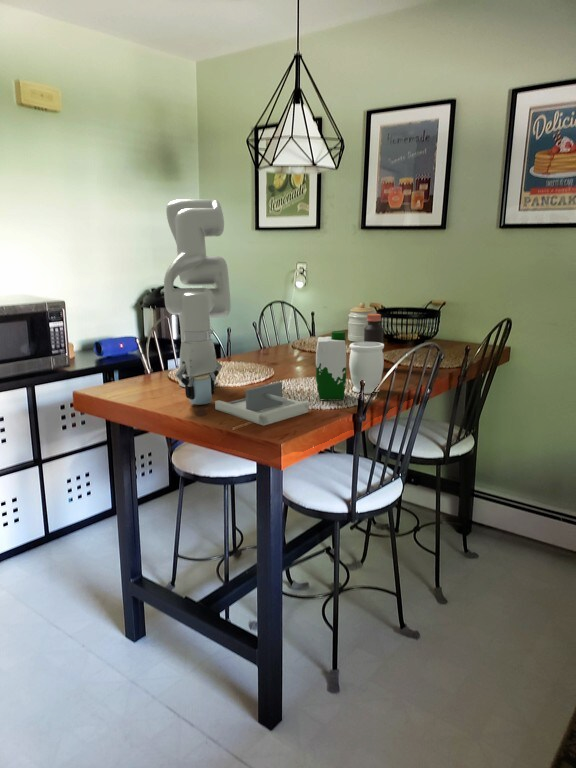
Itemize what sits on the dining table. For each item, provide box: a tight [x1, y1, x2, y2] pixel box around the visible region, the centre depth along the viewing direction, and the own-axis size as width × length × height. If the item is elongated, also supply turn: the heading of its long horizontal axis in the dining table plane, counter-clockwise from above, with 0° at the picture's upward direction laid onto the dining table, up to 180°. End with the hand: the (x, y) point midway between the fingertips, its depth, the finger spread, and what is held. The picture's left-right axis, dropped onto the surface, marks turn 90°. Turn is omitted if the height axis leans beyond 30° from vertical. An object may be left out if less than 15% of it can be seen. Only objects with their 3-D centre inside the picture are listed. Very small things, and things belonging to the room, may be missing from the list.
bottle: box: [364, 313, 384, 353], centre depth 206 cm, size 7×7×20 cm
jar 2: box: [348, 342, 385, 395], centre depth 177 cm, size 11×10×15 cm
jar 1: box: [347, 302, 375, 343], centre depth 266 cm, size 13×13×18 cm
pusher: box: [245, 381, 287, 412], centre depth 155 cm, size 9×12×6 cm
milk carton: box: [315, 330, 347, 400], centre depth 170 cm, size 9×9×20 cm
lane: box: [214, 396, 309, 426], centre depth 160 cm, size 21×16×3 cm
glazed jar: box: [189, 373, 213, 405], centre depth 165 cm, size 6×6×8 cm
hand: (200, 395), depth 166 cm, fingers closed on glazed jar, 6 cm apart
